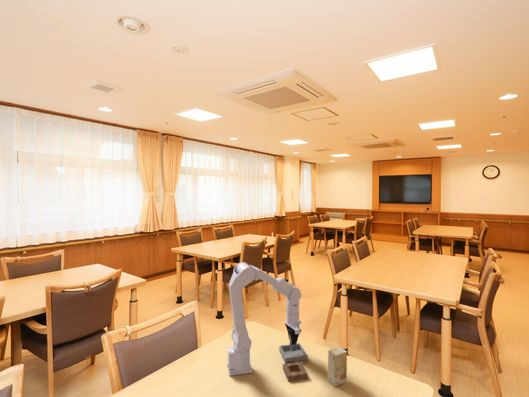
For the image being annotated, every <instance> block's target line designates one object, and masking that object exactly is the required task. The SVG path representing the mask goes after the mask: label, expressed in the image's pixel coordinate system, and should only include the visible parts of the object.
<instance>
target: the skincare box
mask: <svg viewBox="0 0 529 397" xmlns="http://www.w3.org/2000/svg"><path fill="white" fill-rule="evenodd" d="M327 353H328V358H327V360H328V361H327V381H328V382H329V383H331V385H332V386H334V387H337V386H340V385H342V384H344V383H347V381H348V380H347V377H348V376H347V375H348V374H347V372H348V351H347V350H346V349H345V348H343V347H341V346H337V347H333V348H331V349H328V352H327Z"/></svg>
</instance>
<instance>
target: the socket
mask: <svg viewBox="0 0 529 397" xmlns="http://www.w3.org/2000/svg"><path fill="white" fill-rule="evenodd" d="M282 370H283V373H284V375H285V377H286V380H287V382H291V381H299V380H306V379H308V372H307V370H306V368H305V367H304V364H303V362H295V363H287V364H285V363H282ZM297 370H298V371H297ZM291 371H294V372H291ZM295 371H296V372H295Z"/></svg>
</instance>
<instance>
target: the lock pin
mask: <svg viewBox="0 0 529 397" xmlns="http://www.w3.org/2000/svg"><path fill="white" fill-rule="evenodd" d="M289 344H290V350H291V351H296V344H294V345H292V343H291V337H290V340H289Z"/></svg>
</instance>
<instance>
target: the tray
mask: <svg viewBox="0 0 529 397" xmlns="http://www.w3.org/2000/svg"><path fill="white" fill-rule="evenodd" d="M278 348H279V354H280V355H281V357H282V360H283V362H284V364H287V363H295V362H301V363H303V362H308V354H307V352H306V351H305V348H304V347H303V346H302V345H301V343H298V342H297V344H296V351H291V350H290V343H289V344H283V345H279V347H278Z"/></svg>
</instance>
